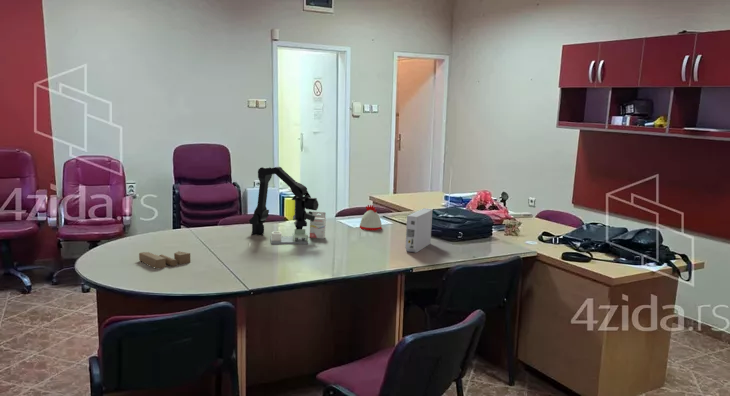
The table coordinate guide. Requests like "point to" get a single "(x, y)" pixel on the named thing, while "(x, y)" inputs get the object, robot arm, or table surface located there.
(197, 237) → the table surface
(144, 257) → the wooden block set
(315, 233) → the ink cartridge box
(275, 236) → the white hollow square block
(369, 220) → the cream and red dome
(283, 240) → the housing plate
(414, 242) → the game console
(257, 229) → the robot arm
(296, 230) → the cover
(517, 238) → the table surface
